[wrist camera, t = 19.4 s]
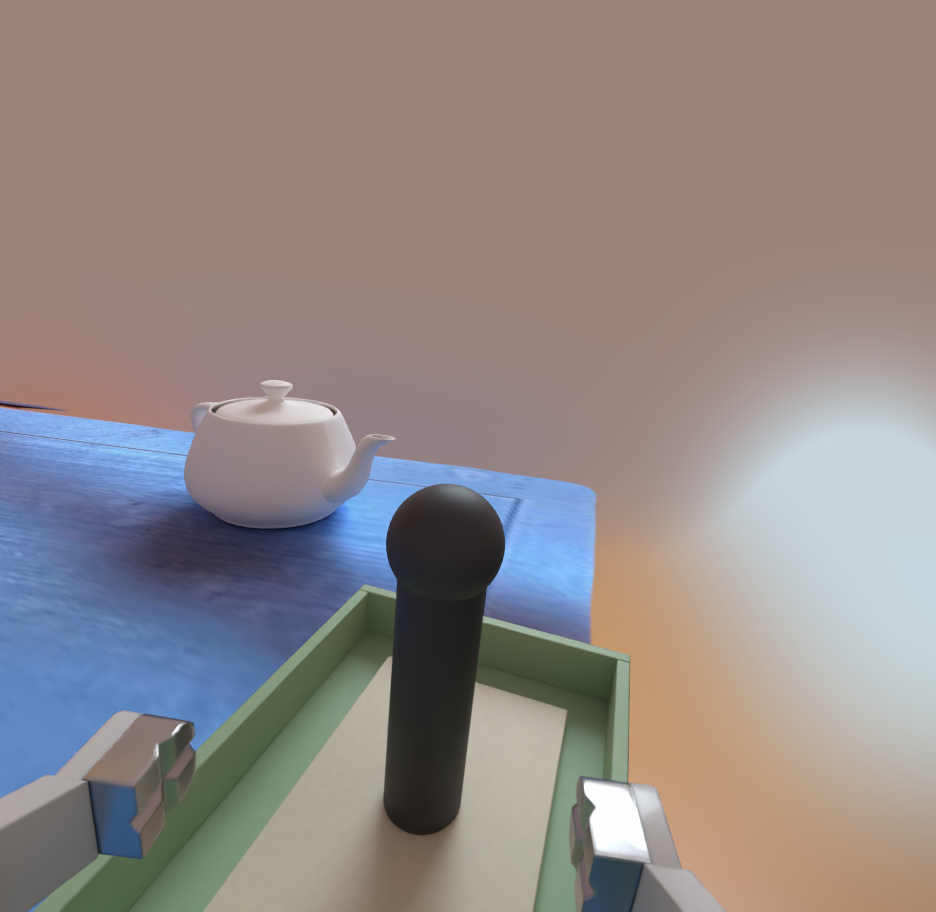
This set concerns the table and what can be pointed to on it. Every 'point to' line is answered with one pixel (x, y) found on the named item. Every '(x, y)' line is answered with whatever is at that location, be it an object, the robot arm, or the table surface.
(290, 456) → the teapot
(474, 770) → the joystick
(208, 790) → the tray
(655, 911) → the robot arm
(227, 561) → the table surface
